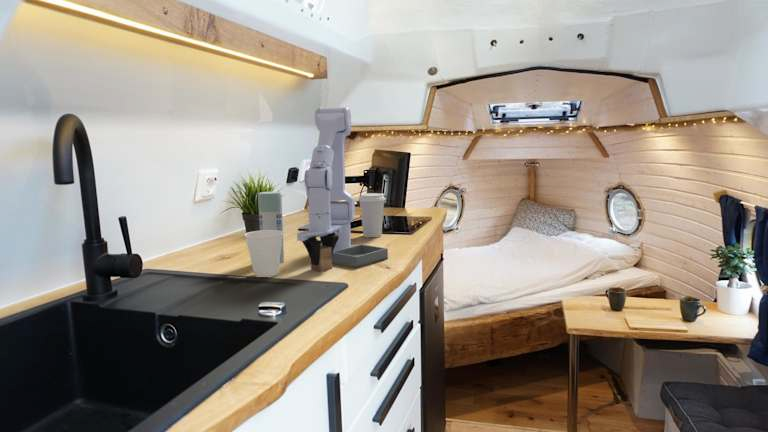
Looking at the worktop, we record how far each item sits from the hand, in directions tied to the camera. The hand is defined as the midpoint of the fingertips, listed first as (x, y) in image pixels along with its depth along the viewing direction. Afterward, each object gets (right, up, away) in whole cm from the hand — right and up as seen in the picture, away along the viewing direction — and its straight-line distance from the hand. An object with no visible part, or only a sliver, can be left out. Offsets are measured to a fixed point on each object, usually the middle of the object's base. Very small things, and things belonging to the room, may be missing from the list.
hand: (321, 262), depth 138 cm
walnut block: (0, -2, 0) cm, 2 cm away
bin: (+10, 0, +9) cm, 13 cm away
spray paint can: (-15, -1, +9) cm, 17 cm away
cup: (-14, -3, -5) cm, 15 cm away
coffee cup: (+13, +5, +45) cm, 47 cm away
